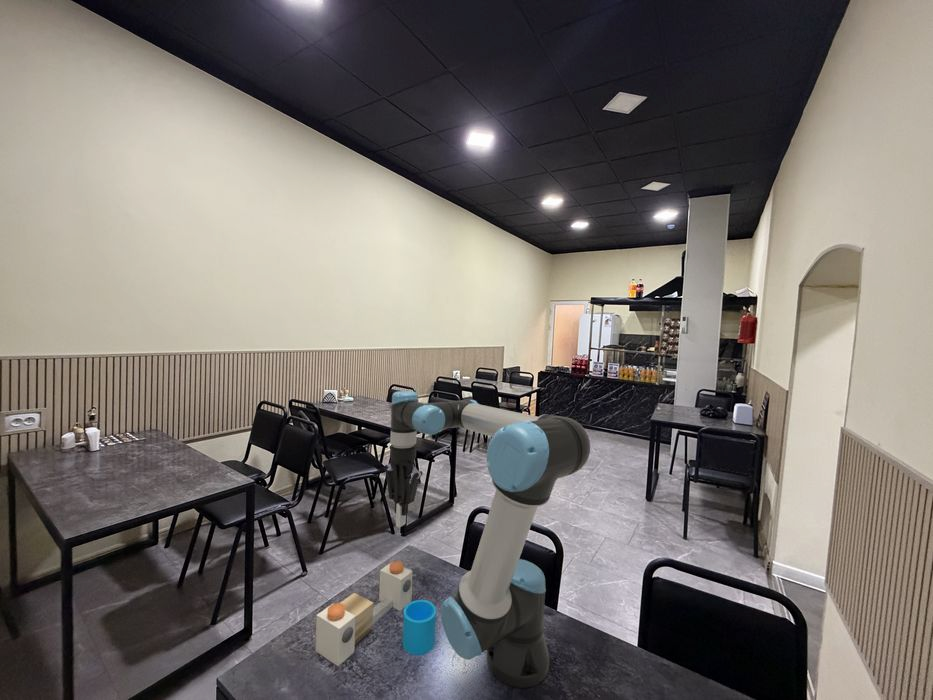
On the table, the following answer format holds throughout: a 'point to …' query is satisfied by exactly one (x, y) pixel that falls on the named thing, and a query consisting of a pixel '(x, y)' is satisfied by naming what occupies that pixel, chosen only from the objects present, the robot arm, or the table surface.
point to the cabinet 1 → (335, 636)
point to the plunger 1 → (336, 611)
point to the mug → (419, 627)
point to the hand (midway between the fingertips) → (400, 524)
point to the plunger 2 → (396, 567)
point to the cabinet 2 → (396, 587)
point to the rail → (382, 609)
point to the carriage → (360, 614)
